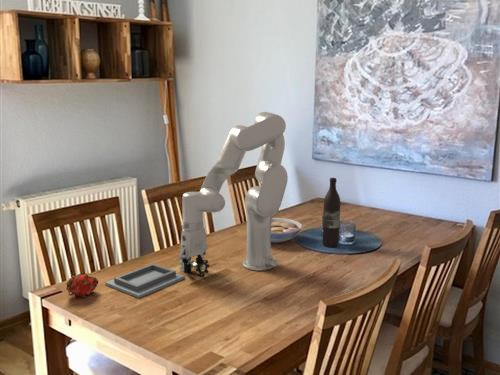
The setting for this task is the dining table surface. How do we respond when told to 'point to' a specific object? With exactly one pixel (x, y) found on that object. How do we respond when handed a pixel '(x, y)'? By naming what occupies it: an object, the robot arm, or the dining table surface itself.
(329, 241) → the wine bottle
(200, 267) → the valve
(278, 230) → the ramen bowl
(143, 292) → the rimmed tray
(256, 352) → the dining table surface
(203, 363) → the dining table surface
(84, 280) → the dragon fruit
